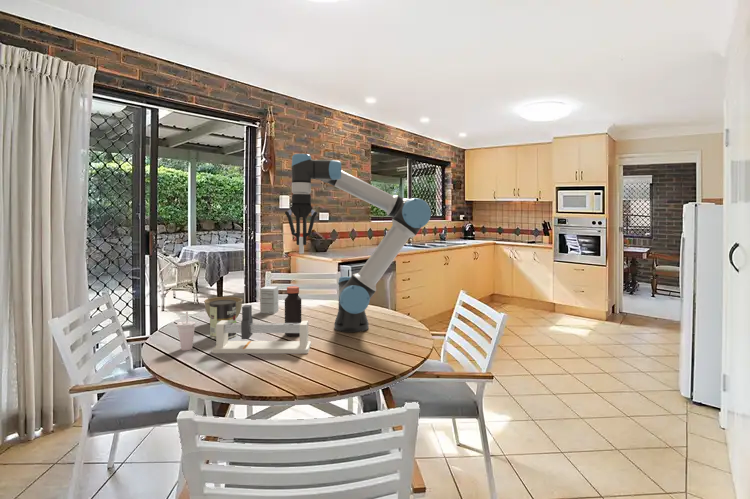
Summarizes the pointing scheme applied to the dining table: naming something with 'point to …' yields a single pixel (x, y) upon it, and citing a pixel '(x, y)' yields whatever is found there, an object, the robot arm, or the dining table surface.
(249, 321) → the dark grey tall block
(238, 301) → the planter bowl
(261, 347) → the slider rail stand
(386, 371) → the dining table surface
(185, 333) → the smoothie
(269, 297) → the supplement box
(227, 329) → the pipe
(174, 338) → the dining table surface
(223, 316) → the coffee can
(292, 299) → the bottle
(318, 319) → the dining table surface
